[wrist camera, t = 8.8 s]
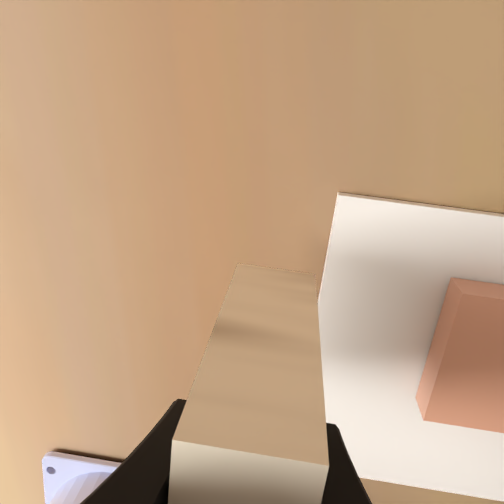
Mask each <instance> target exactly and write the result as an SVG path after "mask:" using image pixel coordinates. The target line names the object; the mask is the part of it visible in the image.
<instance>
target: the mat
mask: <svg viewBox="0 0 504 504" xmlns="http://www.w3.org/2000/svg"><path fill="white" fill-rule="evenodd" d="M451 277H453V278H460V279H467V280H474V281H481V282H488V283H495V284H502V285H504V214H500V213H492V212H485V211H477V210H469V209H462V208H454V207H447V206H439V205H432V204H424V203H416V202H409V201H401V200H394V199H386V198H379V197H371V196H363V195H356V194H348V193H341V192H338V194H337V199H336V205H335V210H334V216H333V221H332V227H331V232H330V238H329V243H328V249H327V254H326V260H325V265H324V271H323V276H322V282H321V287H320V293H319V298H318V317H319V331H320V345H321V359H322V373H323V387H324V401H325V415H326V423H331V424H336V426H337V427H338V428H339V430H340V433H341V436H342V438H343V441H344V444H345V446H346V449H347V451H348V454H349V456H350V458H351V461H352V463H353V465H354V467H355V470H356V472H357V474H358V476H359V477H360V478H366V479H372V480H378V481H384V482H390V483H396V484H402V485H408V486H414V487H420V488H426V489H432V490H438V491H444V492H450V493H456V494H462V495H468V496H474V497H480V498H486V499H492V500H498V501H504V433H499V432H493V431H486V430H480V429H474V428H467V427H461V426H455V425H449V424H442V423H436V422H430V421H423V418H422V415H421V413H420V410H419V407H418V404H417V401H416V398H415V397H416V393H417V390H418V387H419V383H420V380H421V376H422V373H423V370H424V366H425V363H426V359H427V356H428V353H429V349H430V346H431V342H432V339H433V336H434V332H435V329H436V325H437V322H438V319H439V315H440V312H441V308H442V305H443V302H444V298H445V295H446V291H447V288H448V285H449V281H450V278H451Z"/></svg>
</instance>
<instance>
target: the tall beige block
mask: <svg viewBox="0 0 504 504" xmlns="http://www.w3.org/2000/svg"><path fill="white" fill-rule="evenodd" d="M328 469H329V457H328V443H327V429H326V415H325V401H324V387H323V373H322V359H321V345H320V331H319V317H318V303H317V289H316V275H315V274H313V273H306V272H299V271H292V270H285V269H278V268H271V267H264V266H257V265H250V264H243V263H238V264H237V266H236V269H235V272H234V274H233V277H232V280H231V283H230V285H229V288H228V291H227V293H226V296H225V299H224V301H223V304H222V307H221V309H220V312H219V315H218V318H217V320H216V323H215V326H214V328H213V331H212V334H211V336H210V339H209V342H208V345H207V347H206V350H205V353H204V355H203V358H202V361H201V363H200V366H199V369H198V371H197V374H196V377H195V380H194V382H193V385H192V388H191V390H190V393H189V396H188V398H187V401H186V404H185V406H184V409H183V412H182V415H181V417H180V420H179V423H178V425H177V428H176V431H175V433H174V436H173V439H172V449H171V464H170V479H169V494H168V504H321V501H322V496H323V492H324V487H325V483H326V478H327V473H328Z"/></svg>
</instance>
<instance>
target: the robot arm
mask: <svg viewBox="0 0 504 504" xmlns="http://www.w3.org/2000/svg"><path fill="white" fill-rule="evenodd" d="M186 401H187V400H182V399H177V400H176V401H174V402H173V403H172V405H171V406H170V408H169V409H168V410H167V412H166V413H165V414H164V415H163V417H162V418H161V419H160V421H159V422H158V423H157V424H156V425H155V427H154V428H153V429H152V430H151V431H150V433H149V434H148V435H147V436H146V437H145V438H144V440H143V441H142V442H141V443H140V444H139V445H138V446H137V447H136V448H135V449H134V450H133V452H132V453H131V454H130V455H129V456H128V457H127V458H126V459H125V460H124V461H123V462H122V463H119V462H113V461H107V460H101V459H95V458H89V457H83V456H78V455H72V454H66V453H60V452H54V451H50V452H47V453H46V454H45V456H44V457H43V459H42V468H43V481H44V494H45V504H168V494H169V479H170V464H171V449H172V439H173V436H174V433H175V431H176V428H177V425H178V423H179V420H180V417H181V415H182V412H183V409H184V406H185V404H186ZM326 429H327V443H328V457H329V469H328V473H327V478H326V483H325V487H324V492H323V496H322V501H321V504H372V503H371V501H370V499H369V497H368V495H367V493H366V491H365V489H364V487H363V485H362V483H361V481H360V478H359V476H358V474H357V472H356V470H355V467H354V465H353V463H352V461H351V458H350V456H349V454H348V451H347V449H346V446H345V444H344V441H343V438H342V436H341V433H340V430H339V428H338V427H337V426H336V424H331V423H326ZM52 467H53V468H52Z"/></svg>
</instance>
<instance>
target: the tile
mask: <svg viewBox="0 0 504 504" xmlns="http://www.w3.org/2000/svg"><path fill="white" fill-rule="evenodd" d="M415 398H416V401H417V404H418V407H419V410H420V413H421V415H422V418H423V421H430V422H436V423H442V424H449V425H455V426H461V427H467V428H474V429H480V430H486V431H493V432H499V433H504V285H502V284H495V283H488V282H481V281H474V280H467V279H460V278H453V277H451V278H450V281H449V285H448V288H447V291H446V295H445V298H444V302H443V305H442V308H441V312H440V315H439V319H438V322H437V325H436V329H435V332H434V336H433V339H432V342H431V346H430V349H429V353H428V356H427V359H426V363H425V366H424V370H423V373H422V376H421V380H420V383H419V387H418V390H417V393H416V397H415Z"/></svg>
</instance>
